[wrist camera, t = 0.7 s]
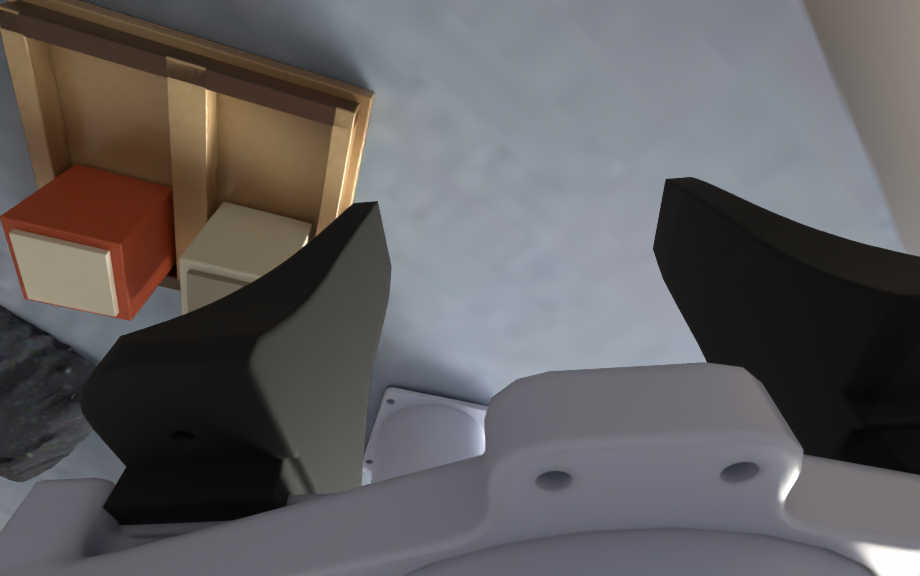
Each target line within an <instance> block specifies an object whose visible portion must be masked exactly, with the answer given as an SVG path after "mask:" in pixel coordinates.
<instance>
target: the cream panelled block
mask: <svg viewBox="0 0 920 576" xmlns="http://www.w3.org/2000/svg"><path fill="white" fill-rule="evenodd" d="M312 227H313V225H312V224H311V223H307V222H303V221H299V220H295V219H291V218H287V217H283V216H279V215H275V214H271V213H268V212H264V211H260V210H256V209H252V208H248V207H244V206H240V205H236V204H232V203H228V202H223V203H222V204H221V205H220V207H219V208H218V209H217V210H216V212H215V213H214V214H213V215H212V217H211V218H210V219H209V221H208V222H207V223H206V224H205V226H204V227H203V228H202V230H201V231H200V232H199V233H198V235H197V236H196V237H195V238H194V240H193V241H192V242H191V244H190V245H189V246H188V247H187V249H186V250H185V251H184V253H183V254H182V255H181V256H180V258H179V263H180V284H181V304H182V315H184V314H186V313H189V312H191V311H194V310H196V309H199V308H201V307H203V306H206V305H208V304H210V303H212V302H215V301H217V300H219V299H221V298H223V297H225V296H227V295H229V294H231V293H232V292H234V291H236V290H238V289H240V288H242V287H244V286H246V285H248V284H250V283H251V282H253V281H255V280H257V279H258V278H260V277H262V276H263V275H265V274H266V273H268V272H269V271H271V270H273V269H274V268H276V267H277V266H279V265H280V264H281V263H283V262H284V261H286V260H287V259H288V258H290V257H291V256H292V255H294V254H295V253H296V252H297V251H299V250H300V249H301V248H302V247H304V246H305V245H306V244H307V243H309V242H310V241H311V234H312Z"/></svg>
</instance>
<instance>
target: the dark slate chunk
mask: <svg viewBox="0 0 920 576" xmlns="http://www.w3.org/2000/svg"><path fill="white" fill-rule="evenodd" d="M95 368H96V366H94V365H93V364H91V363H90V362H88V361H87V360H85V359H84V358H83V357H81V356H80V355H79V354H77V353H76V352H74V351H73V350H72V348H71V347H70V346H68V345H65V344H62V343H60V342H58V341H56V340H55V339H54V338H53V337H52V336H51V335H50V334H47V333H45V332H42V331H39V330H37V329H36V328H35V327H33V326H32V325H30V324H29V323H27V322H25V321H22V320H20V319H18V318H16V317H14V316H13V315H12V314H11V313H10V312H8V311H7V310H6V309H4V308H2V307H0V476H2V477H5V478H7V479H9V480H12V481H16V482H23V481H27V480H29V479H31V478H33V477H35V476H37V475H39V474H41V473H43V472H44V471H46V470H48V469H51V468H52V467H53V466H55V465H56V464H57V463H58V462H59V461H60V460H61V459H62V458H64V457H66V456H68V455H69V454H70V453H71V452H72V451H73V449H74V447H75V446H76V445H77V444H78V443H79V442H80V441H82V440H83V439H85V438H86V437H87V436H88V435H89V433H90V432H91V430H92V429H93V428H92V427H91V426H90V424H89V423H88V421H87V420H86V418H85V417H84V415H83V413H82V411H81V407H80V403H79V399H78V398H79V394H80V390H81V387H82V385H83V384H84V383H85V381H86V380H87V379H88V377H89V376H90V375H91V374H92V372H93V371H94V370H95Z"/></svg>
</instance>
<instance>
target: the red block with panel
mask: <svg viewBox="0 0 920 576" xmlns="http://www.w3.org/2000/svg"><path fill="white" fill-rule="evenodd" d="M0 219H1V223H2V226H3V229H4V233H5V236H6V239H7V242H8V246H9V249H10V252H11V256H12V259H13V262H14V266H15V269H16V272H17V276H18V279H19V282H20V286H21V289H22V292H23V295H24V298H25V299H27V300H32V301H37V302H42V303H46V304H51V305H56V306H61V307H66V308H71V309H76V310H80V311H85V312H90V313H95V314H100V315H105V316H110V317H114V318H119V319H124V320H129V321H131V320H132V319H133V317H134V316H135V315H136V314H137V312H138V311H139V310H140V308H141V307H142V306H143V305H144V303H145V302H146V301H147V299H148V298H149V297H150V296H151V294H152V293H153V292H154V291H155V289H156V288H157V287H158V285H159V284H160V283H161V282H162V280H163V279H164V278H165V276H166V275H167V274H168V273H169V271H170V270H171V269H172V267H173V266H174V265H175V264H176V244H175V225H174V206H173V188H171V187H167V186H163V185H159V184H155V183H151V182H147V181H143V180H139V179H135V178H131V177H127V176H124V175H120V174H116V173H112V172H108V171H104V170H100V169H96V168H92V167H88V166H84V165H80V164H75V165H74V166H72V167H71V168H69V169H68V170H66V171H65V172H63V173H62V174H60V175H59V176H58V177H56V178H55V179H53V180H52V181H50V182H49V183H47V184H46V185H45V186H43V187H42V188H40V189H39V190H37V191H36V192H34V193H33V194H32V195H30V196H29V197H27V198H26V199H24V200H23V201H21V202H20V203H18V204H17V205H16V206H14V207H13V208H11V209H10V210H8V211H7V212H5V213H4V214H3V215H1V216H0Z"/></svg>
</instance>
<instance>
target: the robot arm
mask: <svg viewBox="0 0 920 576" xmlns="http://www.w3.org/2000/svg"><path fill="white" fill-rule="evenodd" d="M653 250H654V253H655V256H656V260H657V263H658V266H659V269H660V271H661V274H662V277H663V280H664V282H665V284H666V285H667V287H668V289H669V291H670V293H671V295H672V297H673V299H674V301H675V302H676V304H677V306H678V308H679V310H680V312H681V313H682V315H683V317H684V319H685V321H686V323H687V324H688V326H689V328H690V330H691V332H692V334H693V335H694V337H695V339H696V341H697V343H698V345H699V347H700V349H701V351H702V353H703V355H704V357H705V359H706V361H707V363H687V364H670V365H652V366H635V367H617V368H600V369H583V370H565V371H549V372H545V373H541V374H536V375H532V376H528V377H524V378H520V379H517V380H515V381H514V382H512V383H511V384H510V385H508V386H507V387H506V388H504V389H503V390H502V391H500V392H499V393H497V394H496V395H495V396H493V397H492V398H491V400H490V403H489V406H484V405H479V404H474V403H469V402H464V401H459V400H454V399H449V398H444V397H439V396H434V395H429V394H424V393H420V392H415V391H410V390H405V389H400V388H395V387H391V388H388V389H386V390H385V393H384V396H383V399H382V402H381V405H380V408H379V411H378V414H377V417H376V420H375V423H374V426H373V429H372V432H371V435H370V438H369V441H368V444H367V447H366V451H365V454H364V442H365V432H366V421H367V410H368V401H369V392H370V383H371V376H372V371H373V365H374V361H375V356H376V352H377V348H378V344H379V339H380V335H381V331H382V327H383V322H384V318H385V314H386V309H387V305H388V300H389V293H390V281H391V262H390V257H389V253H388V248H387V243H386V238H385V234H384V229H383V224H382V219H381V215H380V210H379V205H378V201H375V202H362V203H354V204H352V205H351V206H350V207H348V208H347V209H346V210H345V211H344V212H343V213H342V214H340V215H339V216H338V217H337V218H336V219H335V220H334V221H333V222H332V223H331V224H329V225H328V226H327V227H326V228H325V229H324V230H323V231H322V232H320V233H319V234H318V235H317V236H316V237H315V238H314V239H312V240H311V241H310V242H309V243H307V244H306V245H305V246H304V247H302V248H301V249H300V250H299V251H297V252H296V253H295V254H294V255H292V256H291V257H290V258H288V259H287V260H286V261H284V262H283V263H281V264H280V265H279V266H277V267H276V268H274V269H273V270H271V271H269V272H268V273H266V274H265V275H263V276H262V277H260V278H258V279H257V280H255V281H253V282H251V283H250V284H248V285H246V286H244V287H242V288H240V289H238V290H236V291H234V292H232V293H231V294H229V295H227V296H225V297H223V298H221V299H219V300H217V301H215V302H212V303H210V304H208V305H206V306H203V307H201V308H199V309H196V310H194V311H191V312H189V313H186V314H184V315H182V316H179V317H176V318H174V319H171V320H168V321H165V322H162V323H159V324H156V325H153V326H150V327H147V328H144V329H141V330H138V331H135V332H132V333H129V334H126V335H122V336H120V337H119V339H118V340H117V341H116V343H115V344H114V345H113V346H112V348H111V349H110V350H109V352H108V353H107V354H106V356H105V357H104V358H103V359H102V361H101V362H100V363H99V365H98V366H97V367H96V368H95V370H94V371H93V372H92V374H91V375H90V376H89V377H88V379H87V380H86V381H85V383H84V384H83V385H82V387H81V390H80V394H79V398H78V399H79V403H80V407H81V411H82V413H83V415H84V417H85V418H86V420H87V421H88V423H89V424H90V426H91V427H92V428H93V429H94V431H95V432H96V433H97V434H98V435H99V436H100V437H101V439H102V440H103V441H104V442H105V443H106V444H107V445H108V446H109V448H110V449H111V450H112V451H113V452H114V453H115V454H116V455H117V457H118V458H119V459H120V460H121V461H122V462H123V463H124V464H125V466H127V467H126V469H125V470H124V472H123V474H122V475H121V477H120V479H119V480H118V482H117V484H115V483H113V482H111V481H108V480H105V479H97V478H86V479H65V480H44V481H40V482H37V483H36V484H35V485H34V487H33V488H32V489H31V491H30V492H29V494H28V495H27V496H26V498H25V499H24V500H23V502H22V503H21V505H20V506H19V507H18V509H17V510H16V511H15V513H14V514H13V516H12V517H11V518H10V520H9V521H8V522H7V524H6V525H5V527H4V528H3V529H2V531H1V532H0V576H920V257H919V256H914V255H909V254H904V253H900V252H895V251H891V250H887V249H883V248H879V247H875V246H870V245H866V244H863V243H859V242H856V241H852V240H848V239H845V238H842V237H839V236H836V235H833V234H829V233H826V232H823V231H820V230H817V229H814V228H811V227H808V226H806V225H803V224H800V223H798V222H795V221H793V220H790V219H788V218H785V217H783V216H780V215H778V214H775V213H773V212H771V211H768V210H766V209H764V208H761V207H759V206H757V205H755V204H753V203H750V202H748V201H746V200H744V199H742V198H740V197H737V196H735V195H733V194H731V193H729V192H727V191H725V190H722V189H720V188H718V187H716V186H714V185H711V184H709V183H707V182H704V181H702V180H699V179H696V178H692V177H686V178H673V179H666V181H665V186H664V191H663V197H662V202H661V208H660V213H659V219H658V224H657V229H656V235H655V240H654V246H653ZM363 456H364V457H363ZM362 471H363V472H366V473H372V480H371V484H369V485H365V486H361V483H362Z"/></svg>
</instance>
